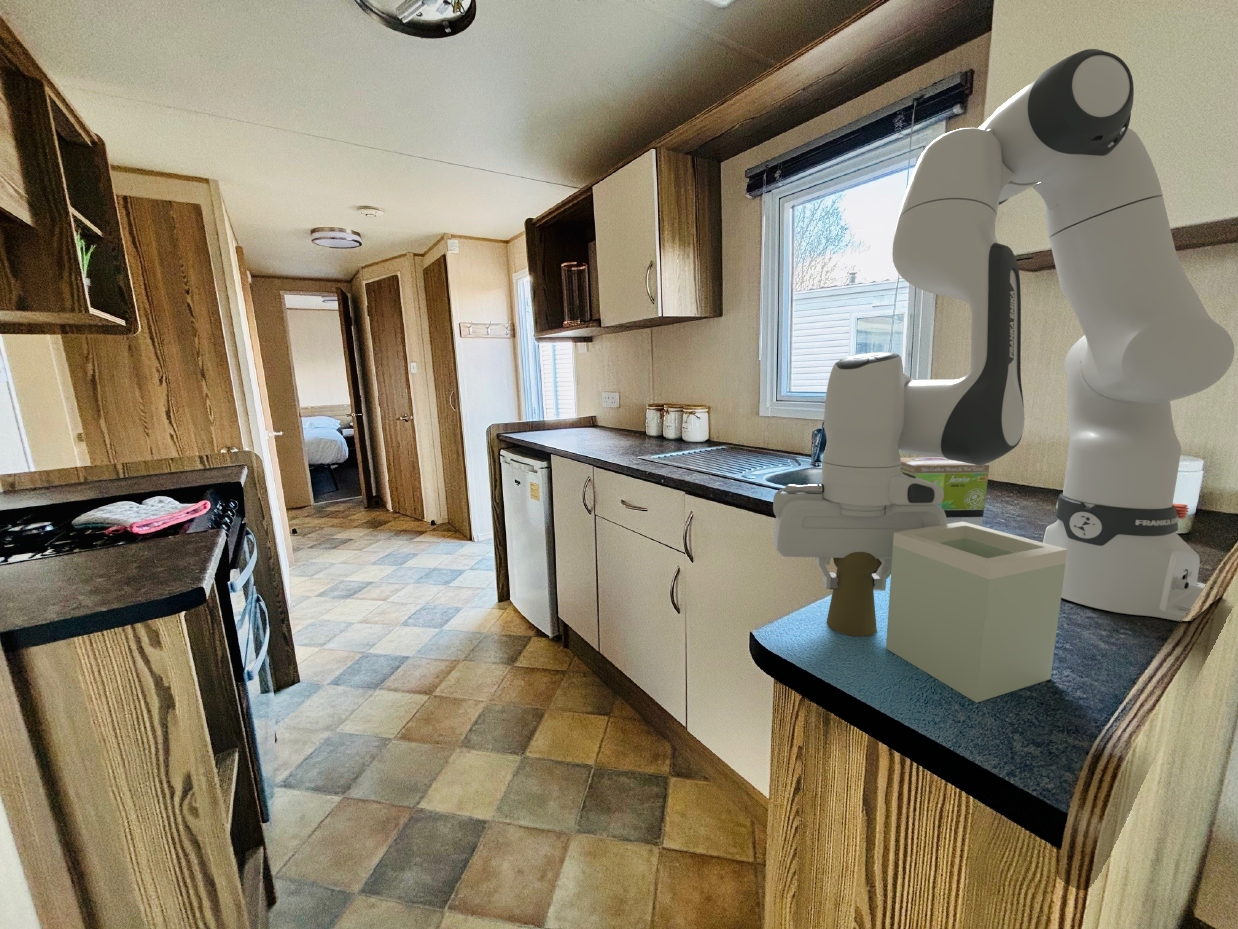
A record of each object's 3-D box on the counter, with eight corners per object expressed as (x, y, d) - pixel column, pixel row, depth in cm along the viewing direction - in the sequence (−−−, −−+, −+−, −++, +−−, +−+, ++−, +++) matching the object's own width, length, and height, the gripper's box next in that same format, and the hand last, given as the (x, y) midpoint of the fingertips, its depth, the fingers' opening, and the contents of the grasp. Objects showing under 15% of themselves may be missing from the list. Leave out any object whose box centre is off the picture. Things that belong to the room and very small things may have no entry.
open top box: (952, 631, 64) (963, 521, 61) (1050, 679, 53) (1067, 549, 51) (885, 648, 60) (893, 532, 58) (976, 702, 50) (990, 564, 47)
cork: (862, 613, 69) (866, 537, 67) (886, 635, 63) (892, 552, 61) (818, 615, 69) (822, 538, 67) (839, 637, 63) (843, 554, 61)
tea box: (910, 536, 101) (915, 464, 98) (883, 522, 111) (887, 456, 108) (983, 534, 101) (991, 462, 99) (950, 520, 111) (956, 454, 109)
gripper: (778, 489, 61) (775, 596, 63) (959, 490, 58) (949, 601, 61) (769, 479, 67) (767, 577, 70) (932, 479, 65) (924, 580, 67)
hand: (853, 588), depth 65 cm, fingers closed on cork, 4 cm apart
